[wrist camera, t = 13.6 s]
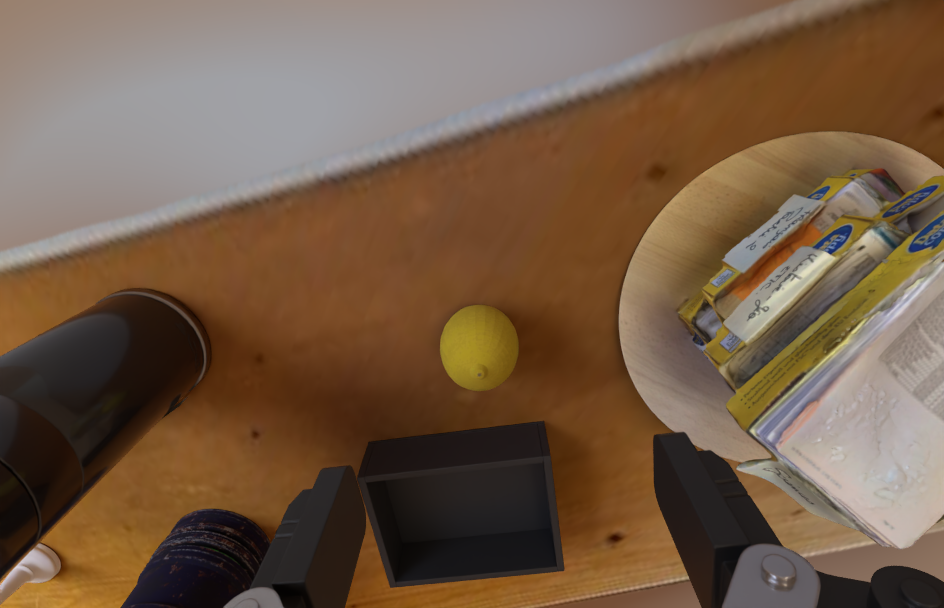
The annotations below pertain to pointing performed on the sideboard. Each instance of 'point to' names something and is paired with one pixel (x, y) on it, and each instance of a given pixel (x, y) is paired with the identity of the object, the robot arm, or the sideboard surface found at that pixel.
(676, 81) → the sideboard surface
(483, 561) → the bin
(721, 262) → the plate of stacked packets
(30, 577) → the chess piece
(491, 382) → the lemon
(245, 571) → the storage jar
